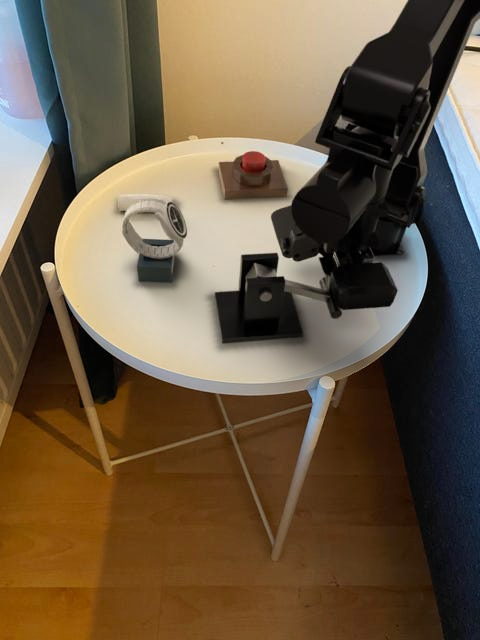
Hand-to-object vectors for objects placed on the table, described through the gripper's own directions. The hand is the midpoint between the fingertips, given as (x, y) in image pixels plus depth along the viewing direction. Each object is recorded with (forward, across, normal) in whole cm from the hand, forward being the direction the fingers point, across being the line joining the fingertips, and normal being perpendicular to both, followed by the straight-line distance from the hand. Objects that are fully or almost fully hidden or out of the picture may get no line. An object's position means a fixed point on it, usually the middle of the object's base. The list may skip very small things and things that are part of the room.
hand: (331, 293), depth 68 cm
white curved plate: (+4, -24, -22) cm, 33 cm away
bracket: (+4, 0, -9) cm, 10 cm away
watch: (+4, -10, -21) cm, 24 cm away
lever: (0, 0, -5) cm, 5 cm away
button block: (+4, -29, -5) cm, 30 cm away
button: (+1, -29, -5) cm, 29 cm away
